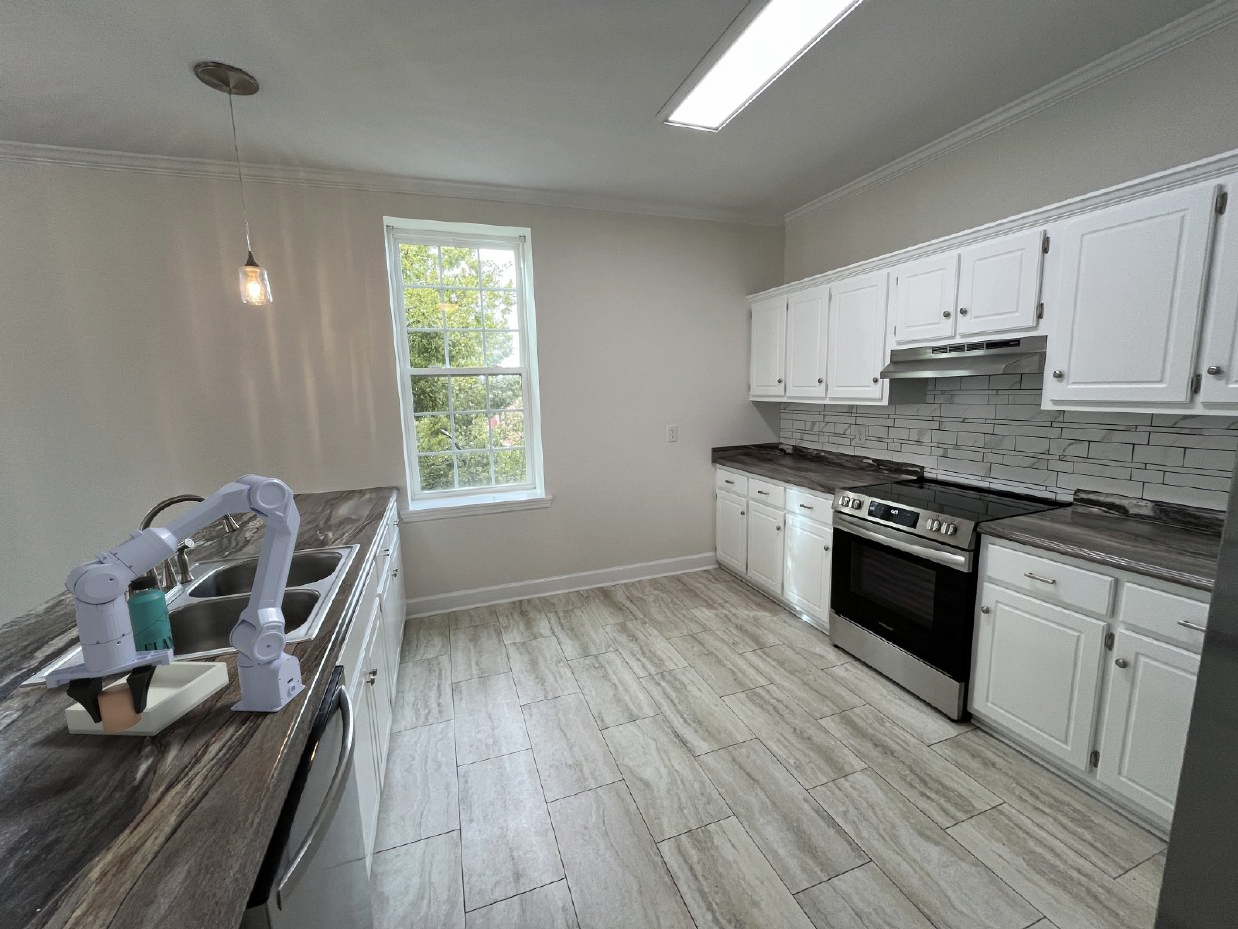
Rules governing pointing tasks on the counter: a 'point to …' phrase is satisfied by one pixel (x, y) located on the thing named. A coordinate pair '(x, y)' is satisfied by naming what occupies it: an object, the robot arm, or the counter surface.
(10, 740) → the counter surface
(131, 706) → the peach cylinder
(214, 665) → the bin
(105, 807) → the counter surface
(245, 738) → the counter surface
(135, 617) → the beverage bottle
